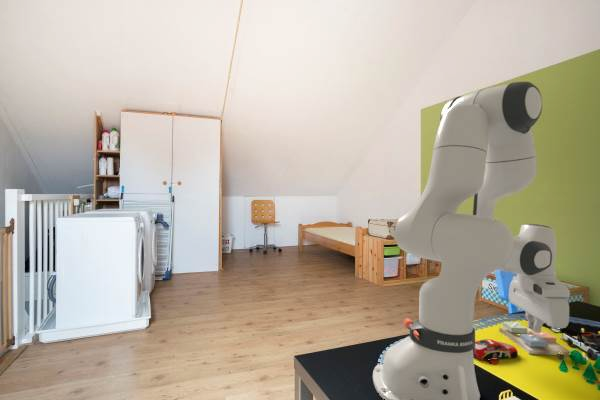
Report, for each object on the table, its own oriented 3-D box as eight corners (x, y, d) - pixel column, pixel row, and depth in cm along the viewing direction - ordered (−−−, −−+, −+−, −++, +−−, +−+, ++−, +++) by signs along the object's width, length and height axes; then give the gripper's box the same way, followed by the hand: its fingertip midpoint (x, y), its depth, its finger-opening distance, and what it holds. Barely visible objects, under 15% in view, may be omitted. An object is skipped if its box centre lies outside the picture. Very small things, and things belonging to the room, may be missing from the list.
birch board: (529, 353, 90) (529, 350, 90) (499, 330, 105) (499, 327, 105) (571, 355, 89) (571, 351, 89) (535, 332, 104) (535, 329, 104)
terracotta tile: (539, 342, 94) (539, 337, 94) (529, 335, 99) (529, 330, 99) (556, 342, 94) (556, 337, 94) (545, 335, 99) (545, 330, 99)
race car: (506, 349, 93) (507, 335, 93) (522, 359, 87) (523, 344, 87) (464, 352, 91) (464, 337, 91) (477, 362, 85) (478, 347, 85)
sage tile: (511, 332, 99) (511, 327, 99) (502, 326, 104) (503, 321, 104) (527, 332, 99) (527, 328, 99) (517, 326, 104) (518, 322, 104)
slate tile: (530, 346, 90) (530, 340, 90) (520, 338, 95) (520, 333, 95) (547, 346, 90) (548, 341, 90) (536, 339, 95) (536, 334, 95)
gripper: (503, 272, 103) (502, 316, 103) (549, 292, 82) (547, 347, 83) (524, 272, 102) (523, 316, 103) (575, 293, 82) (573, 347, 82)
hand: (534, 330), depth 93 cm, fingers closed
